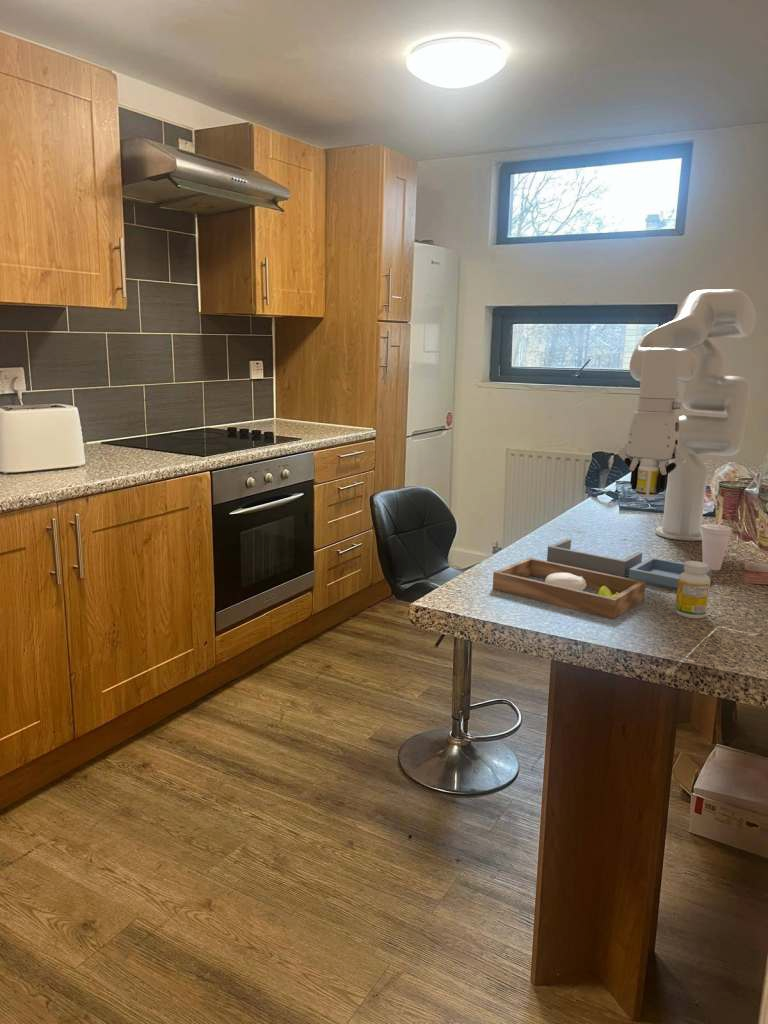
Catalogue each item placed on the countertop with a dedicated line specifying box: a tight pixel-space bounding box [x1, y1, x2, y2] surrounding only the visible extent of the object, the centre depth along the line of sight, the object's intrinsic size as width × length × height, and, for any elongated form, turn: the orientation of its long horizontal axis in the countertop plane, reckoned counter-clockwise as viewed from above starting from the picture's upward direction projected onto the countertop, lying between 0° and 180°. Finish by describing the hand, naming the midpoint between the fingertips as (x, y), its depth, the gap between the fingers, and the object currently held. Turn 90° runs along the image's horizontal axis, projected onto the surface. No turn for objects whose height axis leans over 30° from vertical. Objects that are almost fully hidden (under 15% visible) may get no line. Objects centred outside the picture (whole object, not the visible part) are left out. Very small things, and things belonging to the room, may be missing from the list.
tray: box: [627, 557, 713, 592], centre depth 155 cm, size 13×13×2 cm
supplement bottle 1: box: [635, 458, 660, 498], centre depth 161 cm, size 5×5×8 cm
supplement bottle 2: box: [674, 560, 711, 619], centre depth 134 cm, size 5×5×10 cm
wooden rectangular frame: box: [492, 557, 647, 620], centre depth 144 cm, size 15×25×4 cm, turn 51°
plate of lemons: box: [595, 586, 619, 598], centre depth 141 cm, size 8×8×3 cm
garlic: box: [544, 573, 586, 591], centre depth 146 cm, size 8×7×4 cm
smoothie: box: [701, 507, 733, 571], centre depth 164 cm, size 6×6×14 cm
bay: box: [546, 538, 643, 578], centre depth 165 cm, size 10×18×4 cm, turn 51°
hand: (647, 489), depth 161 cm, fingers closed on supplement bottle 1, 4 cm apart
